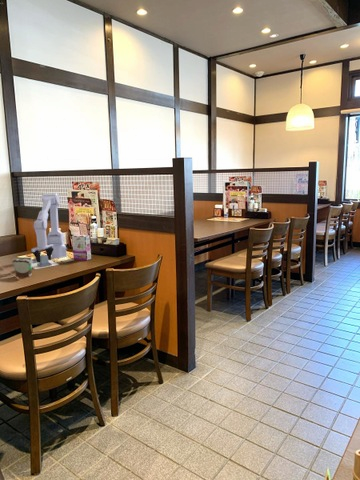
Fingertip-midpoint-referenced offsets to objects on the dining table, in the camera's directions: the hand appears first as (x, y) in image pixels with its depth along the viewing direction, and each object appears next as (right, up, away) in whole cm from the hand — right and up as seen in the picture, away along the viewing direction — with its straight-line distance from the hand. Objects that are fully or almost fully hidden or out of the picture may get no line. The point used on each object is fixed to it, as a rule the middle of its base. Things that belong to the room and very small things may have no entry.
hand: (44, 260), depth 219 cm
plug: (0, -3, 0) cm, 3 cm away
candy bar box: (+20, 0, +16) cm, 25 cm away
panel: (-4, -2, +6) cm, 8 cm away
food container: (-3, -7, -19) cm, 20 cm away
